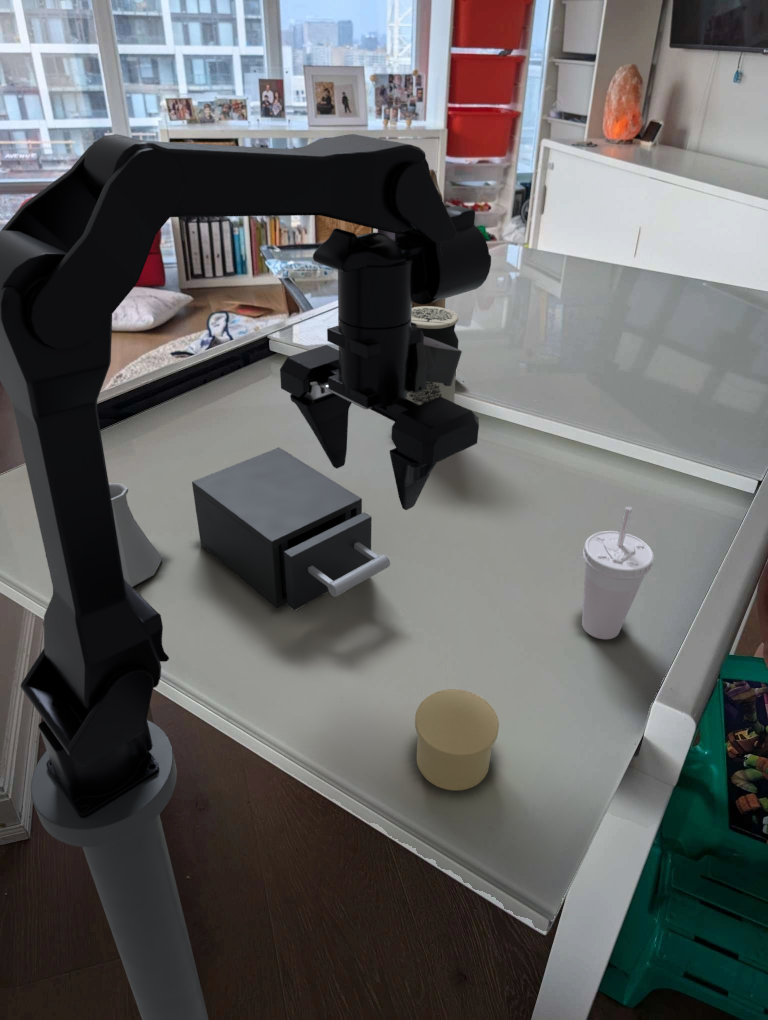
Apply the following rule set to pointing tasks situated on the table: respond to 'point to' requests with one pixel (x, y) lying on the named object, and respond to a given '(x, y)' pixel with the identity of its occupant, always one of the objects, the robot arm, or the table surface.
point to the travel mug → (441, 329)
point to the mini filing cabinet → (264, 514)
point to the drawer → (328, 559)
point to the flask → (132, 540)
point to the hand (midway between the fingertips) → (372, 486)
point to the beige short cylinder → (455, 738)
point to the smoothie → (612, 578)
